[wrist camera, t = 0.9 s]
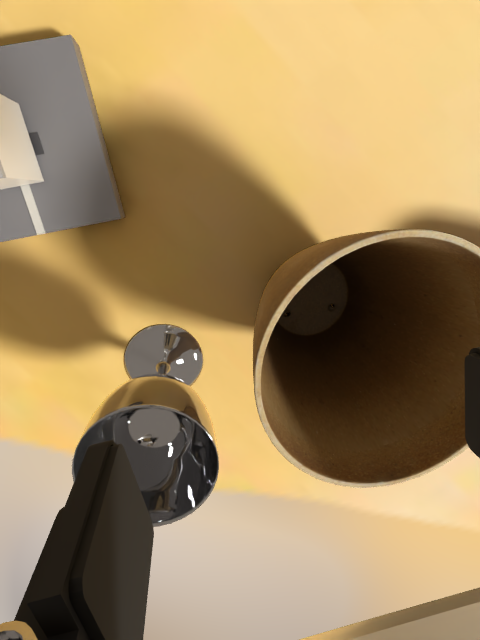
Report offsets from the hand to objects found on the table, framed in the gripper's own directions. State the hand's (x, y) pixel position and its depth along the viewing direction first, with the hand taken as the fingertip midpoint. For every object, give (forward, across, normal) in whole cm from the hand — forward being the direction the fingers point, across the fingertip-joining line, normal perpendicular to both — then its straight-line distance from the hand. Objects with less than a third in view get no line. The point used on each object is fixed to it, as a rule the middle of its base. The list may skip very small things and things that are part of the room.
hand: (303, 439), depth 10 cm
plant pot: (+25, -7, +5) cm, 26 cm away
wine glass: (+25, +7, +7) cm, 27 cm away
